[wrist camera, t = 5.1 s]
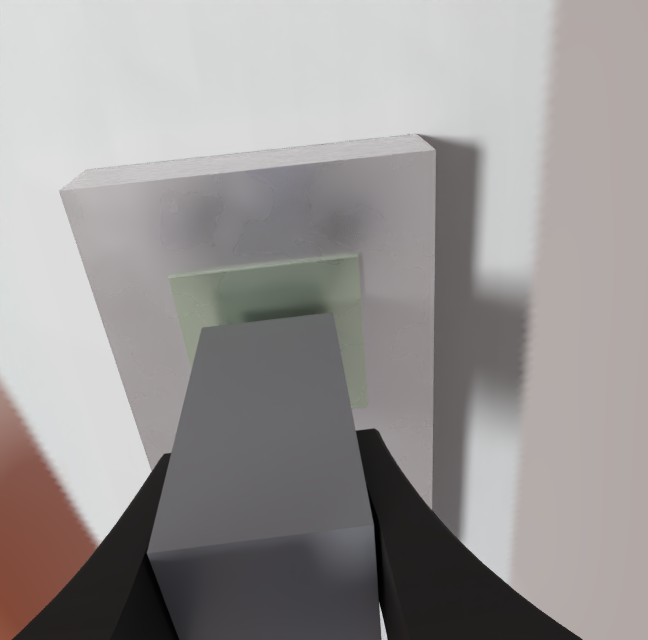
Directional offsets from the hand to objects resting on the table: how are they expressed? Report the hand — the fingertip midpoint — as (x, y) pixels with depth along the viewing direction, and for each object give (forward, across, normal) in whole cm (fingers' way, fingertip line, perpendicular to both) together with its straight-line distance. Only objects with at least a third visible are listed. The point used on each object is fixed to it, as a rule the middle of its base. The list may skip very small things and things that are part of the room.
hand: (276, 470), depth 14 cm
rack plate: (+8, 0, +4) cm, 9 cm away
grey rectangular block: (+4, 0, 0) cm, 5 cm away
